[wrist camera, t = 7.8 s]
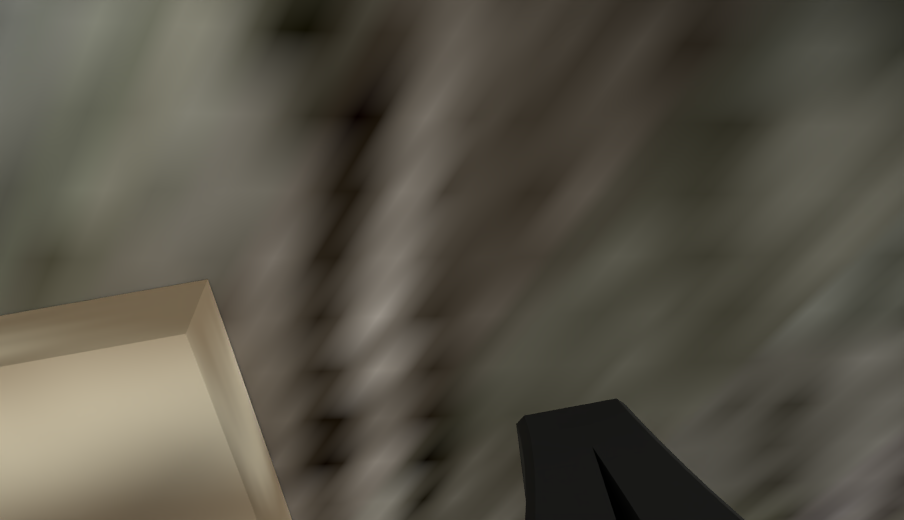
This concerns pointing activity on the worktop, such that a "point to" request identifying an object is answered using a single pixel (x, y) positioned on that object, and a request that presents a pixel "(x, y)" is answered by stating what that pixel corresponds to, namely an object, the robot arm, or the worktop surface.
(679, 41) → the worktop surface
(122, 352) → the board
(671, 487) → the robot arm
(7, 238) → the worktop surface
